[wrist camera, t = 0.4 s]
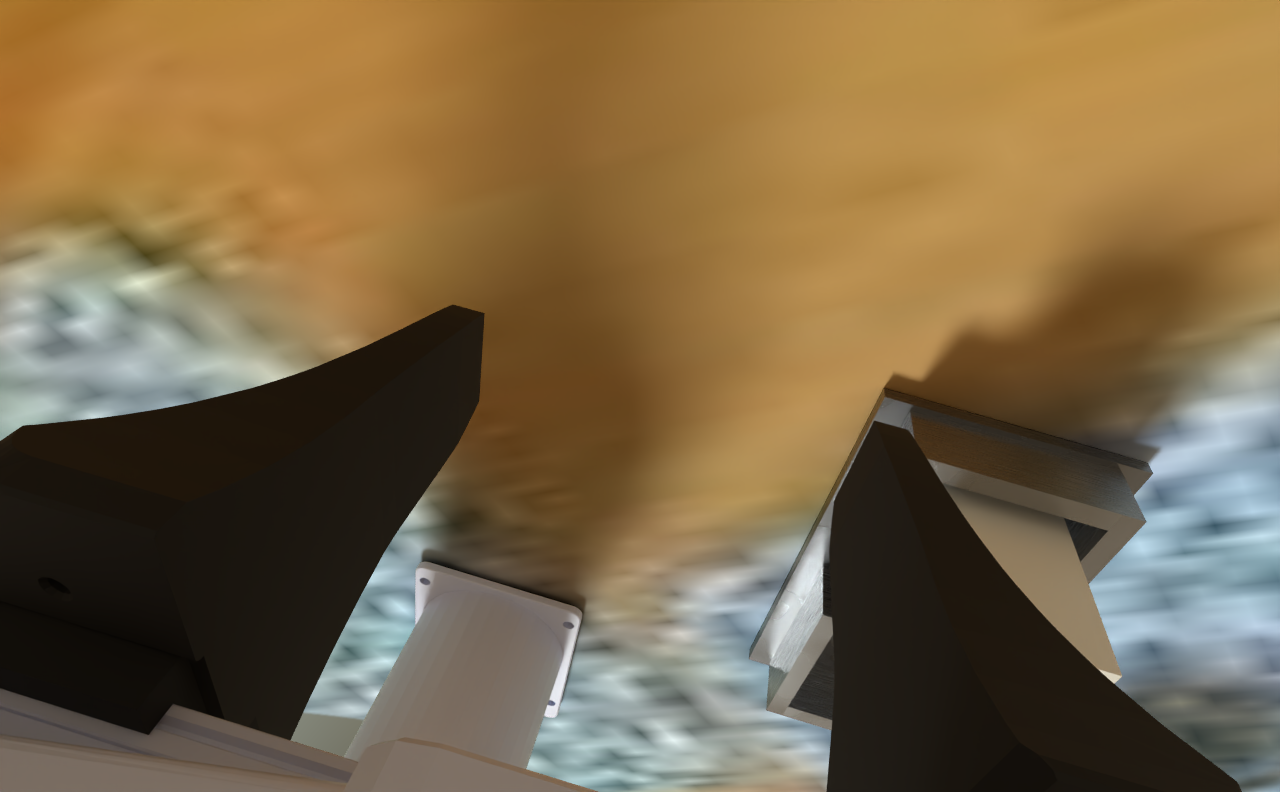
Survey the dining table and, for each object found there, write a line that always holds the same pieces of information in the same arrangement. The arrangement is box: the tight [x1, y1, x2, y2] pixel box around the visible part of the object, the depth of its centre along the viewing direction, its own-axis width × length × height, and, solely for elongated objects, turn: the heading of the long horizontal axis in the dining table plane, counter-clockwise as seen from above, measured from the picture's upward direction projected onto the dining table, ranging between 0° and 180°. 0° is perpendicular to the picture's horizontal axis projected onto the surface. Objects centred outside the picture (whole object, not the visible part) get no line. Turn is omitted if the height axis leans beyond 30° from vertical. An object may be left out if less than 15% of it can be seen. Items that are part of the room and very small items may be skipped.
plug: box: [943, 483, 1122, 683], centre depth 22 cm, size 4×4×8 cm
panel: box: [749, 388, 1153, 730], centre depth 27 cm, size 15×9×3 cm, turn 169°
